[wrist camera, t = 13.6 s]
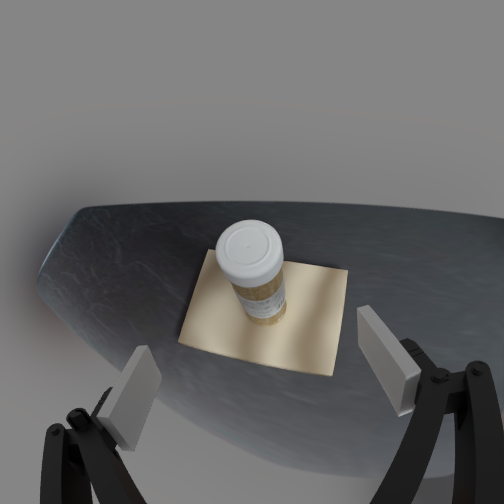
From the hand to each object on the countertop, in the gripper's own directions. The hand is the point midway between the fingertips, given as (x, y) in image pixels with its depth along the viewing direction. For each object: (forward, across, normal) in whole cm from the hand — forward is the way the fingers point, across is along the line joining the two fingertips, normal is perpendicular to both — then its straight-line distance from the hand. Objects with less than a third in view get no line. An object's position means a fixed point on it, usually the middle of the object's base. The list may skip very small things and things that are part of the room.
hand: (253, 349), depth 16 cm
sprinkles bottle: (+14, +1, -4) cm, 14 cm away
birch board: (+15, 0, -5) cm, 16 cm away
